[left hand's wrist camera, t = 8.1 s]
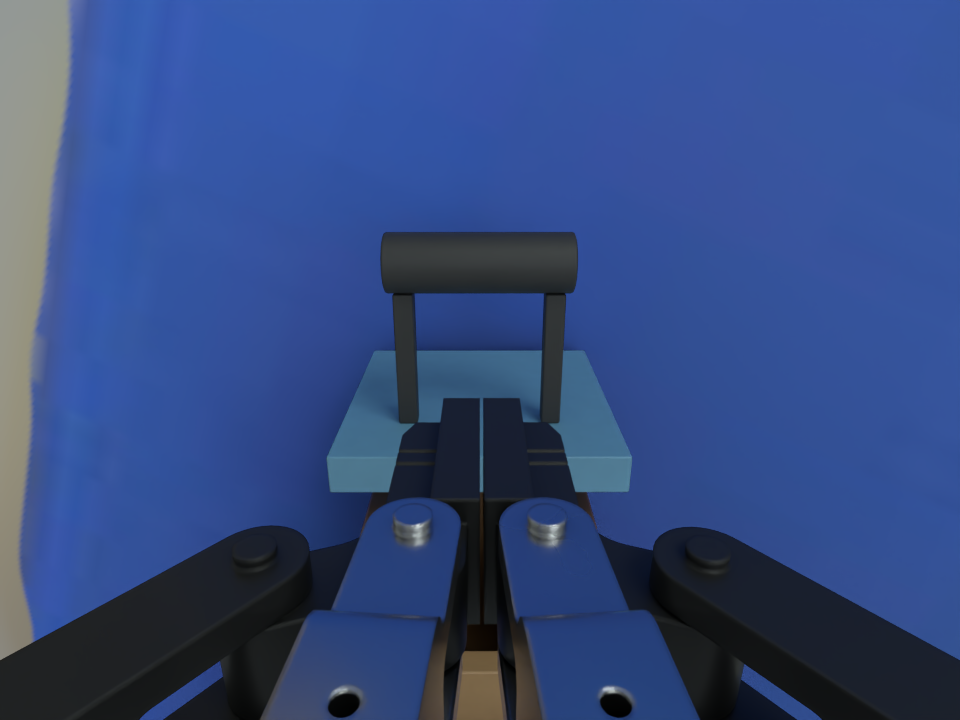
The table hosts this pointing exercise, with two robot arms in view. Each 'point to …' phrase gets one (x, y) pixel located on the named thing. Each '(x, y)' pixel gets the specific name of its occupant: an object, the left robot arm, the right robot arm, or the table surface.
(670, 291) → the table surface
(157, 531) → the table surface
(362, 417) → the drawer
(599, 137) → the table surface
